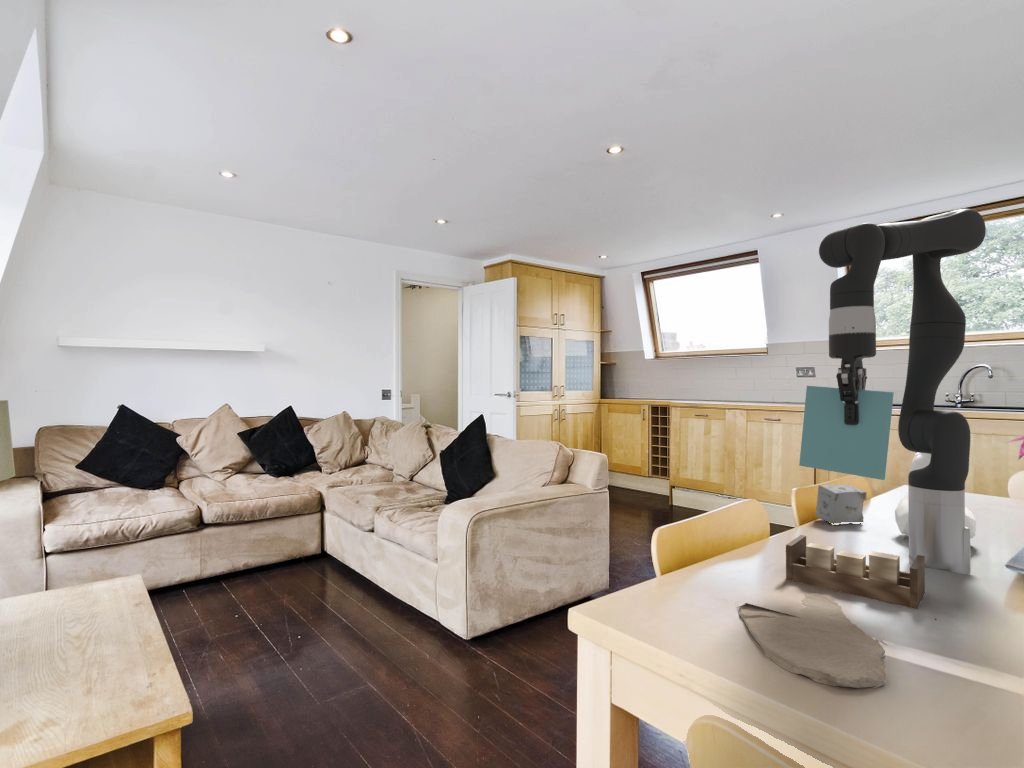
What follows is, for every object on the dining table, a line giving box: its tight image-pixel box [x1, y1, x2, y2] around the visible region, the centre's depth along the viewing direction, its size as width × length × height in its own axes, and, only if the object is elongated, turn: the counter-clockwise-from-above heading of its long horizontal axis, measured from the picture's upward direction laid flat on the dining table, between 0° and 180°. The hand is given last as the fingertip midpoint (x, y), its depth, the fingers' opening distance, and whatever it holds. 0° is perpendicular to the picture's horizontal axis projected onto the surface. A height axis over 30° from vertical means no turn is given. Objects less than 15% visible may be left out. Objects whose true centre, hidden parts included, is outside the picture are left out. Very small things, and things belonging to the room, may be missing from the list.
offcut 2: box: [868, 550, 901, 585], centre depth 93 cm, size 4×3×7 cm
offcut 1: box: [806, 542, 835, 572], centre depth 100 cm, size 4×3×6 cm
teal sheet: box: [798, 385, 895, 481], centre depth 101 cm, size 14×1×16 cm, turn 47°
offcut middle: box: [835, 550, 867, 578], centre depth 96 cm, size 4×3×6 cm
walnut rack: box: [785, 534, 926, 610], centre depth 98 cm, size 20×10×8 cm, turn 46°
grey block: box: [815, 484, 868, 524], centre depth 150 cm, size 10×8×10 cm
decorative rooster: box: [894, 452, 977, 539], centre depth 135 cm, size 25×16×25 cm, turn 138°
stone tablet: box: [738, 592, 886, 689], centre depth 81 cm, size 16×30×2 cm, turn 167°
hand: (852, 424), depth 100 cm, fingers closed on teal sheet, 1 cm apart
